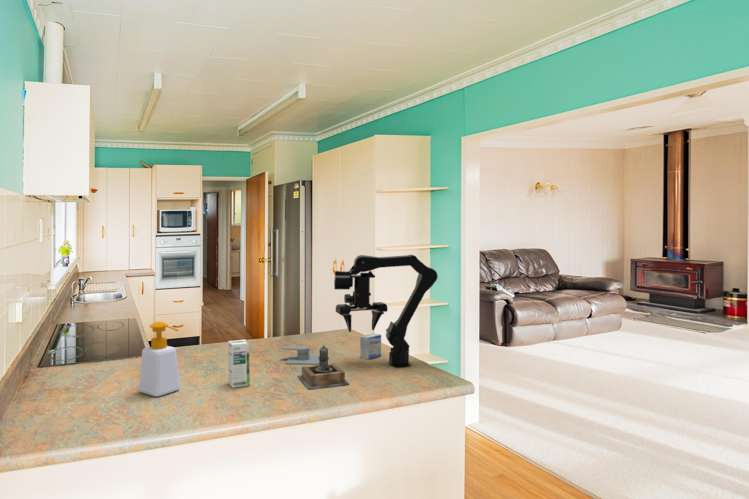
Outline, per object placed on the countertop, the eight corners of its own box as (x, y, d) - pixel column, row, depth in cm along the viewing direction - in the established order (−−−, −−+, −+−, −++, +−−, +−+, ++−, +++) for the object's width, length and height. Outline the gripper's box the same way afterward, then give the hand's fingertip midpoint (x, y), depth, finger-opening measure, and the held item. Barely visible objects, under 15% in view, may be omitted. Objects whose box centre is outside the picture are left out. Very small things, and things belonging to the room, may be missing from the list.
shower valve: (284, 342, 217) (322, 343, 217) (284, 356, 218) (322, 357, 217) (278, 350, 205) (318, 351, 205) (278, 365, 206) (318, 366, 205)
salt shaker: (318, 376, 190) (319, 341, 189) (334, 377, 188) (335, 343, 187) (312, 381, 184) (312, 345, 183) (328, 383, 182) (328, 347, 181)
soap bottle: (165, 401, 164) (164, 328, 163) (136, 392, 172) (135, 322, 170) (191, 392, 172) (190, 322, 171) (163, 384, 180) (162, 317, 178)
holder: (335, 373, 195) (335, 362, 195) (349, 384, 182) (349, 373, 182) (297, 377, 190) (297, 365, 189) (308, 389, 177) (308, 377, 176)
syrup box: (232, 388, 177) (232, 344, 176) (228, 383, 182) (227, 340, 181) (249, 386, 180) (249, 342, 179) (245, 380, 185) (245, 338, 184)
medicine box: (368, 359, 213) (368, 337, 212) (359, 357, 216) (360, 336, 215) (381, 355, 219) (381, 334, 218) (372, 353, 222) (373, 332, 221)
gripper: (376, 285, 214) (376, 325, 215) (331, 287, 207) (330, 328, 208) (388, 289, 204) (387, 331, 205) (340, 291, 197) (340, 334, 198)
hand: (361, 331), depth 204 cm, fingers open, 9 cm apart
